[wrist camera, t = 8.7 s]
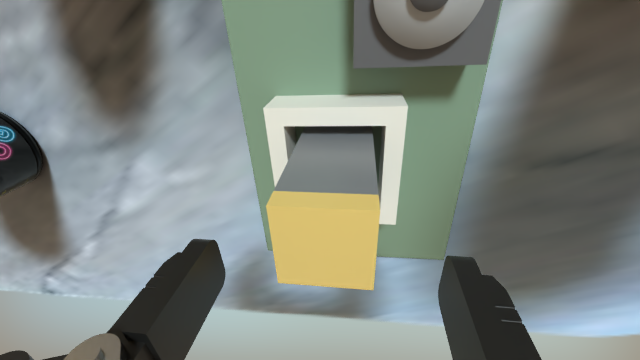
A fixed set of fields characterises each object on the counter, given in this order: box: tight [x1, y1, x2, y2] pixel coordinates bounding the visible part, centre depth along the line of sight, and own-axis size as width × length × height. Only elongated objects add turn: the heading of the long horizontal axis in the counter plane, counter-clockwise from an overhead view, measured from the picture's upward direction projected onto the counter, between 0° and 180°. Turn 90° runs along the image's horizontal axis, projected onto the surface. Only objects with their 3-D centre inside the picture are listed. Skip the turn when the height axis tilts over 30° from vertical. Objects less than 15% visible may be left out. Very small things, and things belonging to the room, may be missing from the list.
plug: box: [266, 126, 380, 290], centre depth 15 cm, size 4×4×9 cm
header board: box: [222, 0, 503, 260], centre depth 17 cm, size 14×22×5 cm, turn 3°
